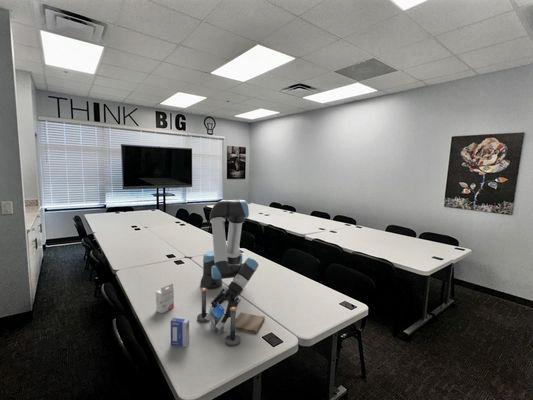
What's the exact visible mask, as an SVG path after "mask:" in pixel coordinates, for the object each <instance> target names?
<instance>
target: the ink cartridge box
mask: <svg viewBox="0 0 533 400" xmlns="http://www.w3.org/2000/svg"><path fill="white" fill-rule="evenodd" d="M174 298H175V296H174V283H171V284H167V285H165V286H163V287H161V288H160V289H158V290H156V291H155V307H156V308H155V309H156V310H155V311H156V312H158V313H159V314H163V313H165V312H168V311H169V310H172V309H173V308H174V307H175V304H174V303H175V302H174V301H175V300H174Z"/></svg>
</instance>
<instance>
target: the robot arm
mask: <svg viewBox="0 0 533 400" xmlns="http://www.w3.org/2000/svg"><path fill="white" fill-rule="evenodd" d="M249 216H250V209H249V205H248V202H247V200H246V199H221V200H219V201H218V202H217V201H216V203H214V205H213V207H212V208H211V211H210V213H209V223H211V230H212V243H213V244H212V245H213V246H212V247H213V250H210V251H207V252H206V253H204V255H203V258H202V262H203V263H202V265H203V267H202V276H201V280H200V282H199V283H200V284H199V285H200V287H201V288H207V290H215V289H218V288H219V289H220V288H221V287H222V286H223V279H232V281H231V282H230V283H229V285H228V288H227V289H224V288H222V289H221V290H220V292H219V294H217V295H216V297H215V298H214V299H213V300H212V301H211V302H210V304H211V307H210V308H209V311H208V312H207V313H208V314H207V316H206V317H205V319H206V320H208V321H207V322H210V321H211V310H213V309H214V308H215V307H217V302H218V303H219V304H220V305H221V306H222V304H224V302H227V305H226V310H225V312H224V315H223V316H222V318H221V319H220V321H219V322H218V324H217V325H216V328H218V329H219V330H220V328H221V327H222V325H223V324H224V325H225V323H226V322H227V320H228V319H229V318H230V319H231V311H230V307H231V306H236V307H237V308H238V306H239V304H240V303H241V298H239V296H240V295H241V294H242V293H243V291H244V289H245V288H246V286H247V285H248V283H249V281H250V280H251V278H252V276H254V274H255V272H256V271H257V270H258V267H259V262H257V260H255V259H254V258H252V257H247V258H246V260H244V262H243V253H242V252H241V250H240V242H241V236H242V228H243V223H245V220H246V219H248V218H249ZM226 219H227V221H228V222H229V223H228V232H227V236H226V229H225V228H226V227H225V222H226ZM226 237H227V238H226Z"/></svg>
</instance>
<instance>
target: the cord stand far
mask: <svg viewBox="0 0 533 400" xmlns="http://www.w3.org/2000/svg"><path fill="white" fill-rule="evenodd" d="M207 291H208V289H207V288H202V287H201V289H200V292H201V313H199V314H198V315H197V316H196V320H197V322H199V323H207V322H209V321H208V320H206V319H205V317H206V316H207V314H208V313H209V312H207Z"/></svg>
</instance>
